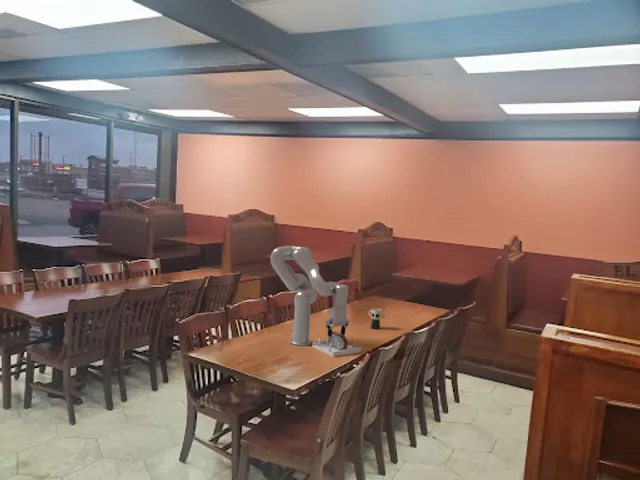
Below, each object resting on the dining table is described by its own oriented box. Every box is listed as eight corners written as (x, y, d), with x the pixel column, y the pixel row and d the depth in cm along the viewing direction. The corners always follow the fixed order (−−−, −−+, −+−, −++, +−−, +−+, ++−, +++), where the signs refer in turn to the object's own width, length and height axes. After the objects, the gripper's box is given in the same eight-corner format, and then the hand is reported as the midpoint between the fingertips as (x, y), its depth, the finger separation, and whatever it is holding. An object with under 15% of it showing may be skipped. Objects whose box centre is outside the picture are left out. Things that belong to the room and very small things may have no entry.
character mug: (365, 327, 349) (367, 309, 348) (369, 325, 356) (370, 307, 354) (381, 330, 345) (383, 311, 344) (384, 328, 352) (386, 309, 350)
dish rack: (312, 346, 298) (313, 336, 297) (339, 342, 310) (340, 332, 310) (332, 356, 283) (333, 345, 282) (360, 352, 295) (361, 341, 295)
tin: (347, 351, 291) (348, 336, 290) (343, 352, 289) (344, 337, 288) (331, 343, 302) (332, 329, 302) (326, 344, 301) (327, 330, 300)
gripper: (346, 303, 302) (343, 332, 304) (323, 305, 292) (320, 334, 294) (355, 307, 296) (351, 335, 298) (331, 308, 286) (328, 338, 288)
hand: (336, 335), depth 296 cm, fingers open, 9 cm apart
